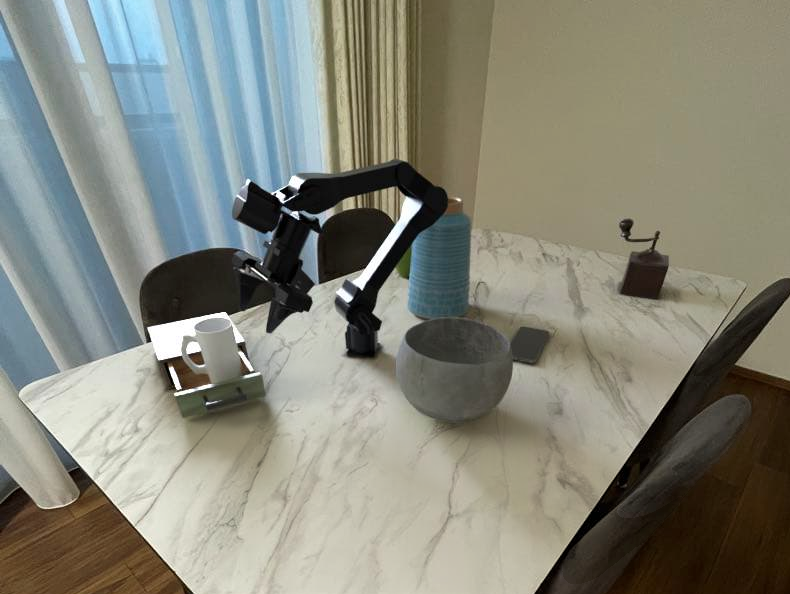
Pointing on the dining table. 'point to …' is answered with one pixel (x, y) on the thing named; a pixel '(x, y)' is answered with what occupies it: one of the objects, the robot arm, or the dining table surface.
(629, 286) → the manual coffee grinder
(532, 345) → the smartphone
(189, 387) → the drawer
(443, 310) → the vase
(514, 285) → the dining table surface
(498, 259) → the dining table surface
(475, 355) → the bowl
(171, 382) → the cabinet
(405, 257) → the green rounded piece
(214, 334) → the mug
